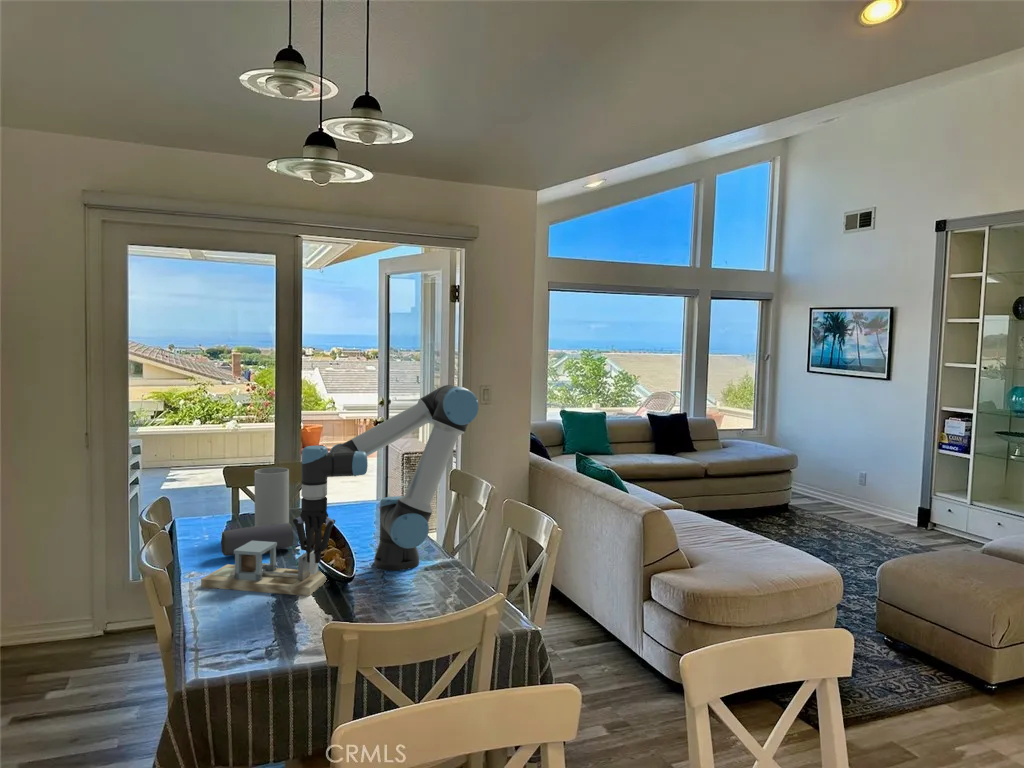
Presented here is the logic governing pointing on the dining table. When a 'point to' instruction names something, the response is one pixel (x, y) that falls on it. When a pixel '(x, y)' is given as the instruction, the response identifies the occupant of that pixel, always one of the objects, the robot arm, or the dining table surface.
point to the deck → (265, 582)
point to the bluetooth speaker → (257, 537)
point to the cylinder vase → (271, 496)
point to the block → (248, 563)
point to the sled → (302, 573)
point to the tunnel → (258, 550)
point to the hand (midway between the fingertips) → (313, 572)
